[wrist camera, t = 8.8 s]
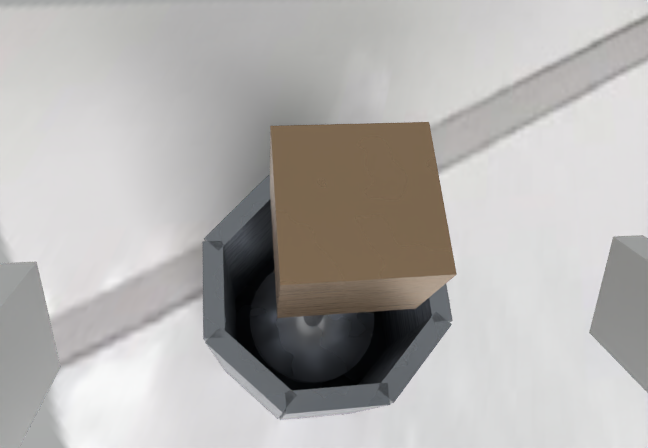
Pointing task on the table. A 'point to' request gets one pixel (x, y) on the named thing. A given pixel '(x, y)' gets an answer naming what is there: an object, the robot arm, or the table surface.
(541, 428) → the table surface
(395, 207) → the plunger
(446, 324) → the octagonal metal cup
